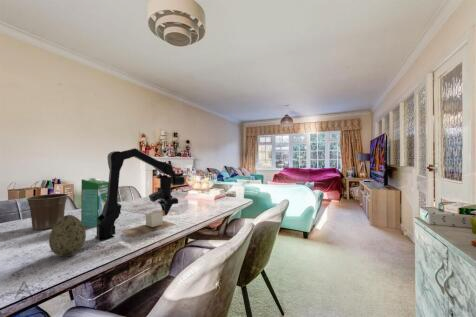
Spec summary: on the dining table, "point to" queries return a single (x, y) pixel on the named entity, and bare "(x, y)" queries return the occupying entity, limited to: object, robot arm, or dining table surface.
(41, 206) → the plant pot
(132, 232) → the walnut stand
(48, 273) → the dining table surface
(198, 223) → the dining table surface
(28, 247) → the dining table surface
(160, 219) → the white rectangular block
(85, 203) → the milk carton
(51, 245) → the decorative egg
